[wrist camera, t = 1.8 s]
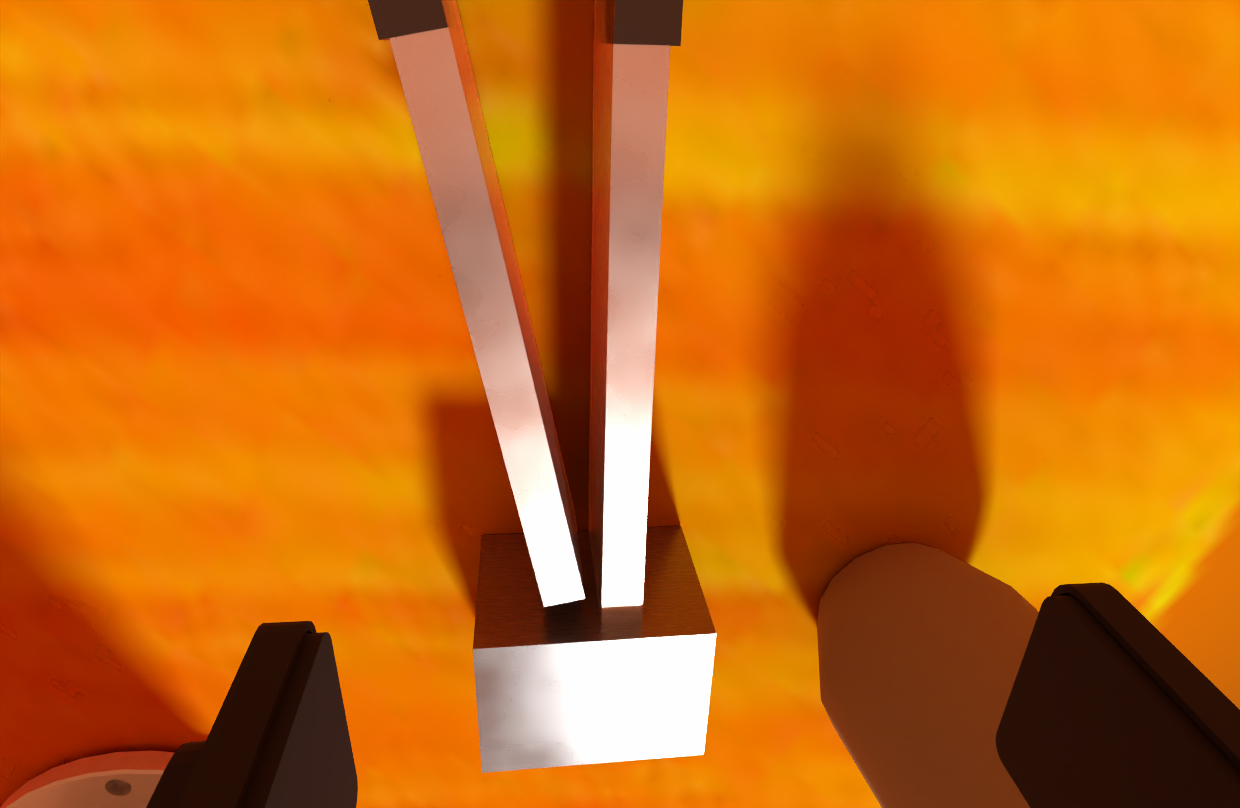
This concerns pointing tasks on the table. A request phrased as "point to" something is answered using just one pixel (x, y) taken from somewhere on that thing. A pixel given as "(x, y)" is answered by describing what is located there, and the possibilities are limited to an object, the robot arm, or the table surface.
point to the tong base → (607, 482)
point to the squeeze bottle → (922, 675)
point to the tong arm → (486, 276)
